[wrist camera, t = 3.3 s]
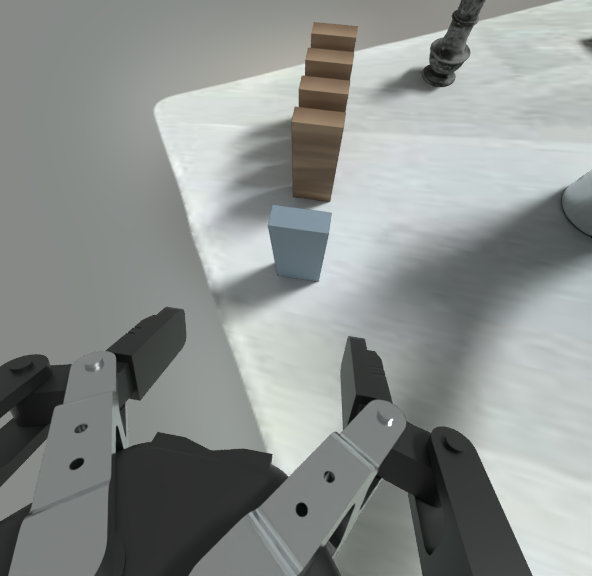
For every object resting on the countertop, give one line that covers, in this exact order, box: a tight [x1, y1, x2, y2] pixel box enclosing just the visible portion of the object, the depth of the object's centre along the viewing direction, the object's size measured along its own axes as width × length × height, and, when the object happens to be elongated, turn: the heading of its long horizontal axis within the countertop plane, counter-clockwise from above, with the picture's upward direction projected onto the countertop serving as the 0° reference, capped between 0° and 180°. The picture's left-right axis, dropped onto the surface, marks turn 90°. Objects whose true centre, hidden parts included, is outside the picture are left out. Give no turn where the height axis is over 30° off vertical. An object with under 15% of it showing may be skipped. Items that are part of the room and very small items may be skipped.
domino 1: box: [311, 22, 358, 52], centre depth 35 cm, size 2×5×11 cm, turn 81°
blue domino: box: [268, 205, 332, 282], centre depth 27 cm, size 2×5×11 cm, turn 81°
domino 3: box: [299, 76, 350, 112], centre depth 32 cm, size 2×5×11 cm, turn 81°
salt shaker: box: [422, 0, 485, 87], centre depth 38 cm, size 6×6×12 cm
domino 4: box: [291, 107, 346, 202], centre depth 31 cm, size 2×5×11 cm, turn 81°
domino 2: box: [305, 48, 354, 81], centre depth 34 cm, size 2×5×11 cm, turn 81°
